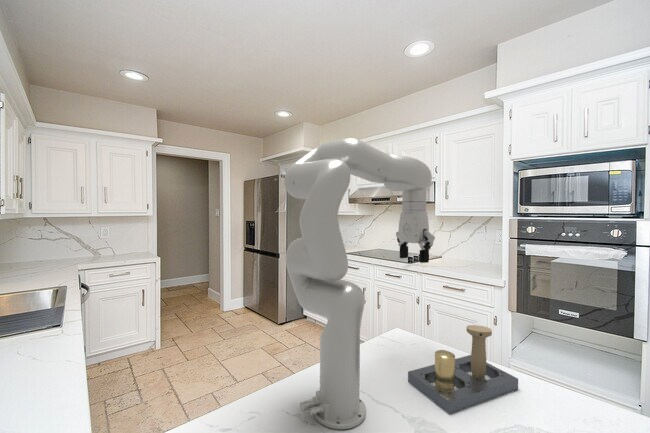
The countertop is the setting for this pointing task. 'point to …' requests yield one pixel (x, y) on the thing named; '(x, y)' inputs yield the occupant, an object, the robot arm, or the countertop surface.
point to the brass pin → (445, 370)
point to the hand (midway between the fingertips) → (413, 260)
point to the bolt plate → (463, 385)
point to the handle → (478, 349)
